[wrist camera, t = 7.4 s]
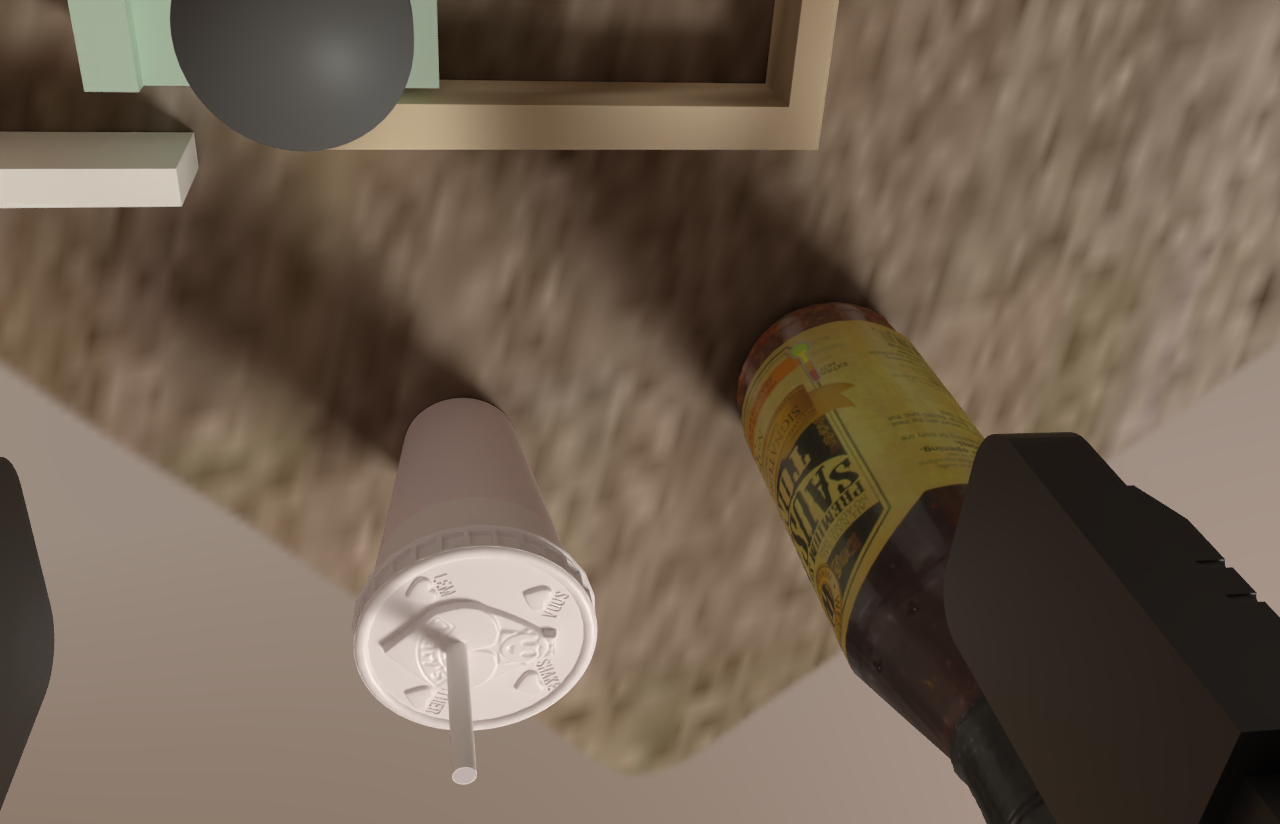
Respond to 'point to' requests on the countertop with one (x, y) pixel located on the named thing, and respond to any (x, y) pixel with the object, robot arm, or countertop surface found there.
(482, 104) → the wooden rectangular frame
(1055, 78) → the countertop surface
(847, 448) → the sauce bottle
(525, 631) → the smoothie
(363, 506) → the countertop surface
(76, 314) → the countertop surface
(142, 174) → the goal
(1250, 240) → the countertop surface
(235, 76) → the striker
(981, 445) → the robot arm
